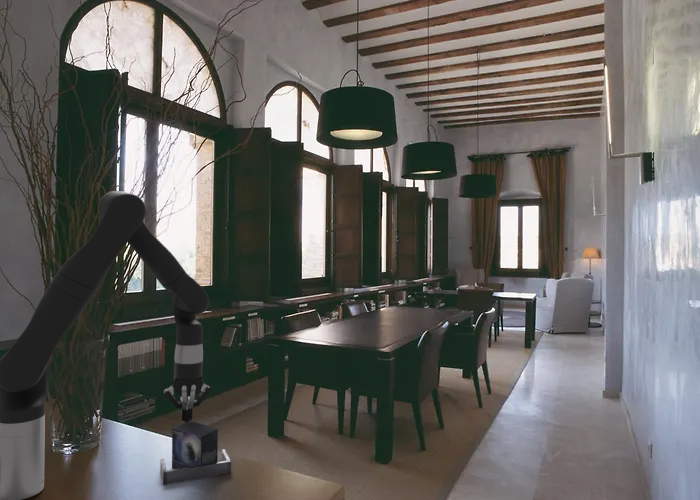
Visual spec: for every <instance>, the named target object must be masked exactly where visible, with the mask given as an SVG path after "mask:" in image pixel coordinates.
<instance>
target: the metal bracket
mask: <svg viewBox="0 0 700 500" xmlns="http://www.w3.org/2000/svg"><path fill="white" fill-rule="evenodd" d="M220 460H221V461H218V462H216V463H209V464H203V465H197V466H191V467H185V468H179V469H175V468H172V469H169V470H167V467H166V466H167V465H166V462H165V458H160V466H159V467H160V469H159V470H160V476H161V481H162V482H161V483H162V485H163V486H166V485H172V484H178V483H182V482H184V483H185V482H188V481H194V480H200V479H205V478H206V479H207V478H212V477H219V476H223V475H228V474H231V473H232V461H231V458H230V457H229V455H228V453H227V450H226V449H225V448H224V449H221V459H220Z"/></svg>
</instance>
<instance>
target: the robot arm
mask: <svg viewBox="0 0 700 500" xmlns="http://www.w3.org/2000/svg"><path fill="white" fill-rule="evenodd" d="M97 211H98V214H99V216H100V219H101V220H100V222H99V224H98V225H97V227H96V229H95V231H94V232H93V234H92V235H91V236H90V238H89V239H88V240H87V241H86V242H85V243H84V244H83V245H82V246H81V247H80V248H79V249H78V250H76V252H74V253H73V254H72V255H71V256H70V257H69V258H68V259H67V260H66V261H65V262H64V263H63V265H61V267H60V268H59V270H58V271H57V272H56V274H55V275H54V277H53V278H52V280H51V282H50V284H49V285H48V287H47V288H46V291H45V292H44V294H43V296H42V297H41V299H40V301H39V303H38V304H37V307H36V309H35V310H34V313H33V315H32V316H31V319H30V321H29V322H28V324H27V326H26V327H25V329H24V331H23V332H22V333H21V334H20V336H19V337H17V339H16V341H15V342H14V343H13V345H12V346H11V347H10V348H9V350H8V351H6V352H5V353H4V354H3V356H2V357H1V358H0V500H25V499H26V500H27V499H29V498H32V497H34V496H36V495H37V494H39V493H40V492H42V491H43V489H44V488H45V450H46V449H45V447H46V446H45V440H46V439H45V437H46V435H45V434H46V432H45V431H46V430H45V429H46V427H45V426H46V401H47V374H48V373H47V372H48V365H47V364H48V363H49V361H50V358H51V356H52V355H53V353H54V351H55V350H56V347H57V345H58V344H59V342H60V341H61V339H62V337H64V335H65V334H66V333H67V331H68V330H69V329H70V328H71V326H72V325H73V324H74V323H75V322H76V321H77V319H78V318H79V317H80V315H81V313H82V312H83V311H85V308H86V307H87V306H88V304H89V303H90V302H91V300H92V298H93V296H94V294H96V291H97V290H98V288H99V287H100V285H101V284H102V282H103V280H104V278H105V276H106V275H107V274H108V272H109V271H110V268H111V267H112V265H113V263H114V262H115V261H116V258H117V257H118V256H119V254H120V252H121V250H122V249H123V248H124V247H125V245H126V244H128V245H130V247H131V248H132V249H133V250H134V251H135V253H136V254H137V255H138V257H139V258H140V259H141V260H142V262H143V263H144V264H145V266H146V267H147V268H148V269H149V271H150V272H151V274H152V276H154V277H155V279H156V280H157V281H158V283H159V284H160V285H161V287H163V289H165V290H166V291H168V292H170V293H172V294H174V296H173V299H172V311H173V318H174V322H175V325H176V326H175V327H176V339H175V340H176V343H175V349H174V357H173V358H174V367H173V368H174V369H173V372H174V373H173V381H172V382H171V386H169V387H167V388H165V389H163V393H164V395H165V396H166V398H167V399H168V400H169V401H170V402H171V403H172V405H174V407H175V408H176V409H180V410H181V411H180V418H181V421H182V422H183V423H186V422H188V421H191V420H193V409H194V408H195V407H200V405H201V404H202V402H203V401H204V400H205V398H206V397H207V396H208V395H209V394H210V392H211V391H212V388H211V387H210V386H209V385H207V384H206V383H205V380H204V378H203V367H204V366H203V365H204V348H203V346H204V345H203V343H204V342H203V339H204V328H203V324H202V323H201V322H199V321H198V320H197V317H196V315H201V314H204V313H205V312H206V311H207V310H208V308H209V305H210V299H209V296H208V294H207V293H208V292H207V291H206V289H204V288H203V287H202V286H201V285H200V284H199V283H198V282H197V281H196V280H195V279H194V278H193V277H192V276H190V275H189V274H188V273H187V272H186V270H185V269H184V268H183V265H181V264H180V262H179V261H178V260H177V258H176V257H175V255H173V254H172V252H171V251H170V250H169V249H168V248H167V247H166V246H165V245H164V244H163V243H162V242H161V241H160V240H159V239H158V238H157V237H156V236H155V235H154V234H153V233H152V232H151V230H150V229H149V228H148V226H147V224H145V222H144V220H145V218H146V213H147V209H146V204H145V202H144V201H143V199H142V198H141V197H139V196H138V195H136V194H134V193H131V192H127V191H122V190H111V191H109V192H107V193H105V194H104V195H102V196H101V198H100V199H99V201H98V205H97ZM174 391H175V392H174ZM199 391H201V392H200V393H199ZM174 393H177V395H178V396H179V397H180V401H179V400H178V398H176V397H175V396H174ZM198 393H199V394H198ZM197 394H198V395H197ZM196 395H197V397H195V396H196Z"/></svg>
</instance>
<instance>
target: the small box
mask: <svg viewBox="0 0 700 500" xmlns="http://www.w3.org/2000/svg"><path fill="white" fill-rule="evenodd" d="M171 430H172V433H171V468H172V469H179V468H185V467H191V466H197V465H203V464H209V463H216V462H219V461H218V460H219V459H218V456H219V455H218V453H219V451H218V449H219V444H218V439H219V438H218V437H219V433H218V432H219V428H218V427H215V426H210V425H206V424H203V423H199V422H196V421H191V420H190V421H188V422H186V423H184V422H182V423H181V424H179V425H177V426H175V427H172V428H171Z"/></svg>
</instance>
